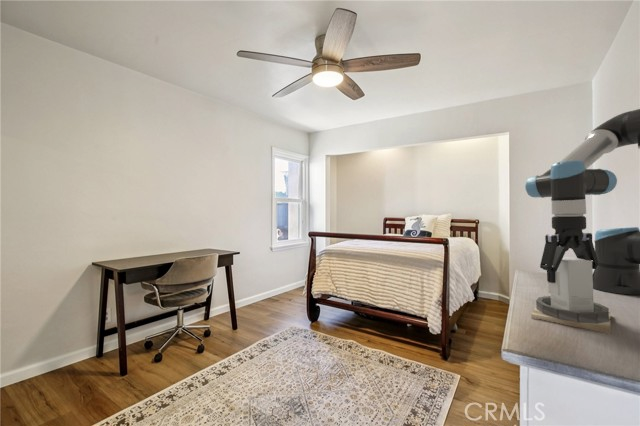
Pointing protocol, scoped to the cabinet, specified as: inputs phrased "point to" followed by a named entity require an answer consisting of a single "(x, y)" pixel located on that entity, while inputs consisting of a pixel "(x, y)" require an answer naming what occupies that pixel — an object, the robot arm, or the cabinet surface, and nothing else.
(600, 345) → the cabinet surface
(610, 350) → the cabinet surface
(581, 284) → the skincare box
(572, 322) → the collar
